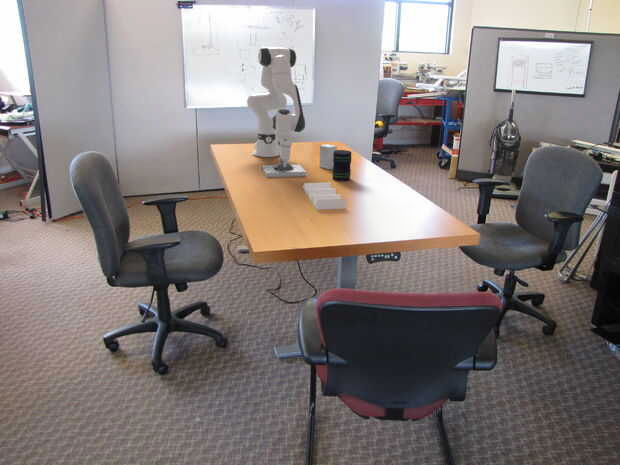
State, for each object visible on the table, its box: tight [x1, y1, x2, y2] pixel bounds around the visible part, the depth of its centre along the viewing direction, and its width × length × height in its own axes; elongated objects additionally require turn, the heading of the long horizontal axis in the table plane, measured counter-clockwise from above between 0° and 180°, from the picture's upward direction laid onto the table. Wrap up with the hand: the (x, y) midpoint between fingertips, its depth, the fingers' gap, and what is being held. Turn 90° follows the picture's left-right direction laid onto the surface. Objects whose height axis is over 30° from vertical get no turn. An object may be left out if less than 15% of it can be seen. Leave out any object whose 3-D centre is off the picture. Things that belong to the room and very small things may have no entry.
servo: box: [274, 161, 293, 170], centre depth 287 cm, size 4×10×6 cm, turn 102°
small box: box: [319, 143, 338, 170], centre depth 301 cm, size 8×6×13 cm
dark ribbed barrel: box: [331, 149, 352, 182], centre depth 276 cm, size 10×10×15 cm
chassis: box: [261, 164, 307, 178], centre depth 288 cm, size 18×22×2 cm
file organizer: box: [302, 182, 347, 211], centre depth 244 cm, size 13×35×5 cm, turn 11°
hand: (283, 164), depth 287 cm, fingers open, 8 cm apart
